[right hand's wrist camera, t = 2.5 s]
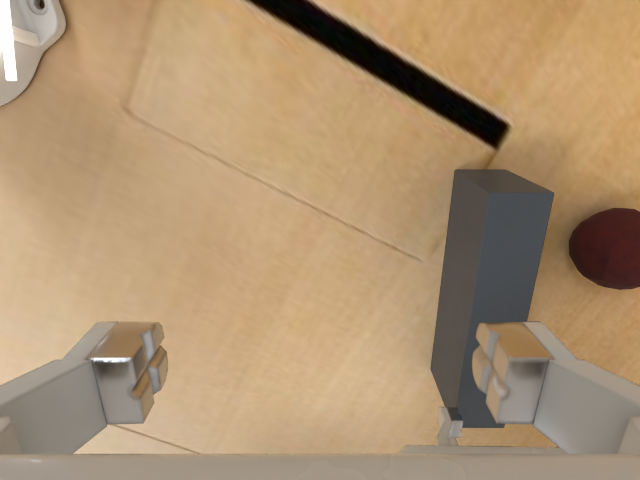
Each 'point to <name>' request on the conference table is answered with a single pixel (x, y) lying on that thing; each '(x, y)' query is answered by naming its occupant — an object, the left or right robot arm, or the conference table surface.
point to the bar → (485, 276)
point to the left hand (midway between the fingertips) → (502, 413)
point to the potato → (609, 248)
